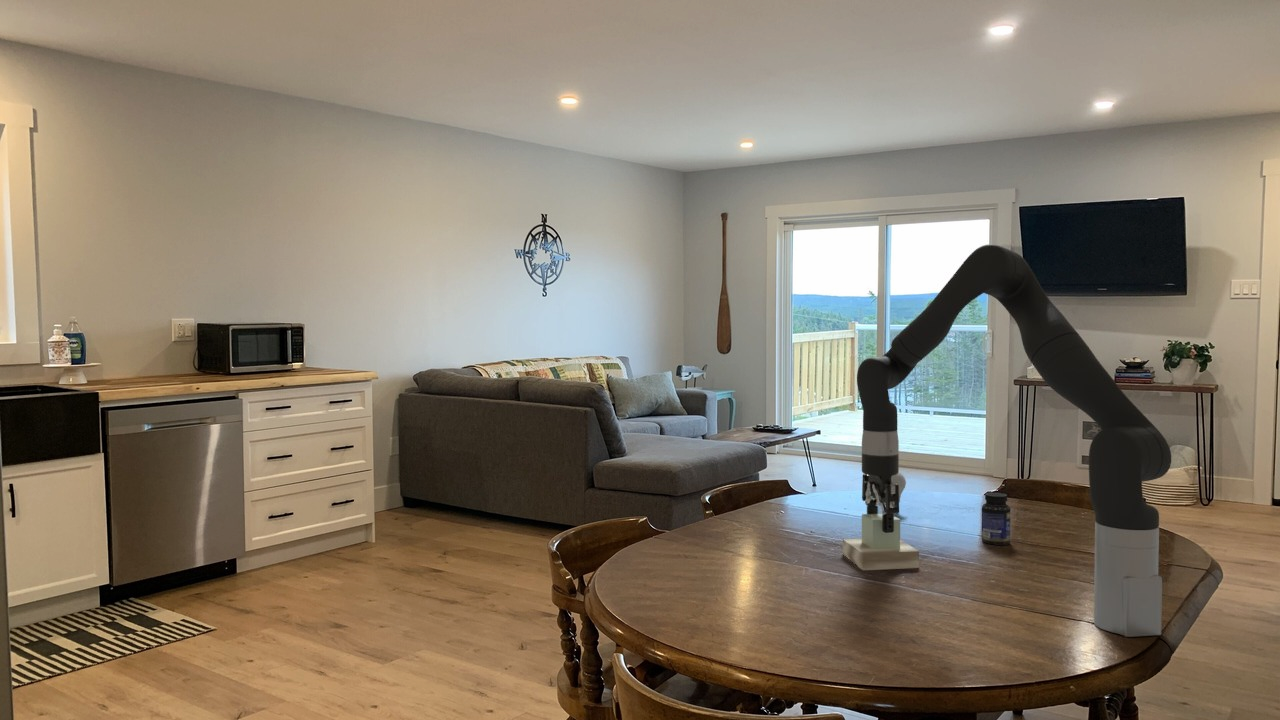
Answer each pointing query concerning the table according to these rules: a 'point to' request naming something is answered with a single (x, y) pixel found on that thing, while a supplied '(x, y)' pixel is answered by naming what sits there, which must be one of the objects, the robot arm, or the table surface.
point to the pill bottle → (996, 519)
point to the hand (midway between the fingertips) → (879, 527)
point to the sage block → (879, 532)
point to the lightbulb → (899, 483)
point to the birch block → (880, 556)
